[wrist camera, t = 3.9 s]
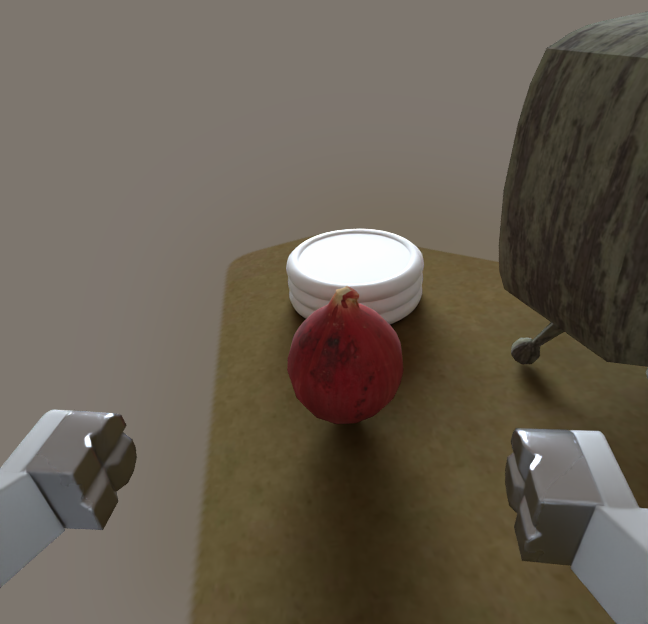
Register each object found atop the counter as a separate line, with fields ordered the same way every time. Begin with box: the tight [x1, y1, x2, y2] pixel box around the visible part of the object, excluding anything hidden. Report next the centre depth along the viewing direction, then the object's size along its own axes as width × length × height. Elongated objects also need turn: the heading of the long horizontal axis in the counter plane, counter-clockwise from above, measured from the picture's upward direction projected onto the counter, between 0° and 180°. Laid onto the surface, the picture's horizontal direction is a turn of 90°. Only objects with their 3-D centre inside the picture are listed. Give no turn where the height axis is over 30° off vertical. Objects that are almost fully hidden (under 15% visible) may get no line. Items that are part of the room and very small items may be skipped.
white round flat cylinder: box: [286, 229, 424, 324], centre depth 36 cm, size 10×10×4 cm
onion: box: [287, 286, 403, 424], centre depth 24 cm, size 6×6×8 cm
